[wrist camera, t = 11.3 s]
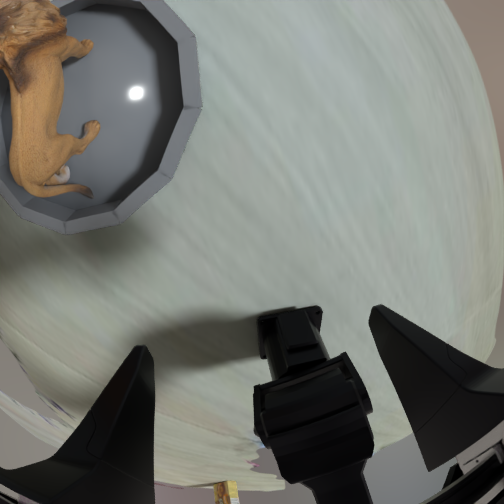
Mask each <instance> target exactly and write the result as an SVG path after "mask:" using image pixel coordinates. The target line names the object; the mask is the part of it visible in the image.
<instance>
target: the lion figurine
mask: <svg viewBox="0 0 504 504" xmlns="http://www.w3.org/2000/svg"><path fill="white" fill-rule="evenodd" d="M66 25H67V18H65V16H63V15H61V14H60V9H59V8H58V7H56V6H55V5H53V4H52V3H51V2H50V1H49V0H0V69H3V70H4V73H5V74H6V76H7V78H8V80H9V84H10V93H11V115H12V141H11V146H10V152H9V166H10V171H11V173H12V176H13V178H14V180H15V181H16V183H17V184H18V185H19V186H23V187H24V189H25V190H26V191H27V192H28V193H30V194H31V195H34V196H37V197H43V198H45V197H51V196H56V195H59V194H63V193H67V192H79V193H81V194H82V195H84V196H87V197H88V198H90V199H93V198H94V195H93V193H92V190H91V189H90V188H89V187H87V186H84V185H81V184H67V185H64V184H66V183H67V182H68V180H69V178H70V170H69V167H68V166H67V165H65V163H66V162H67V161H68V160H69V159H70V157H71V156H73V155H75V154H76V155H80V154H82V153H83V152H84V151H85V149H86V148H87V146H88V145H89V144H90V143H91V142H92V141H93V140H94V139H95V138H96V137H97V135H98V133H99V131H100V128H101V126H100V123H99V122H98V121H97V120H91V121H88V122H87V123H86V124H85V126H84V136H83V137H82V138H81V139H78V138H76V137H74V136H73V135H71V134H59V133H57V128H56V126H57V122H58V119H59V115H60V112H61V108H62V104H63V97H64V77H63V70H62V65H61V63H62V62H63V61H65V60H66V59H67V58H69V57H76V58H81V57H83V56H85V55H87V54H88V53H89V52H90V51H91V50H92V48H93V45H94V43H93V42H92V41H91V40H90V39H84V40H82V41H80V42H79V41H78V40H77V39H76V38H74V37H71V36H67V35H66V33H67V28H66ZM45 184H46V185H47V186H44V185H45Z"/></svg>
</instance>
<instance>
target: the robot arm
mask: <svg viewBox="0 0 504 504" xmlns="http://www.w3.org/2000/svg"><path fill="white" fill-rule="evenodd" d="M317 311H318V312H317ZM322 313H323V311H322V309H321V307H319V306H317V307H312V308H307V309H302V310H296V311H291V312H285V313H280V314H274V315H268V316H262V317H259V318H258V319H257V328H258V340H259V351H260V358H261V359H267V360H268V364H269V369H270V373H271V377H272V381H271V382H268V383H265V384H262V385H260V384H259V385H255V386H254V394H253V405H254V433H255V435H256V436H258V437H260V439H261V441H262V443H263V444H264V446H265V447H266V448H267V449H272V452H273V454H274V456H275V459H276V461H277V464H278V467H279V470H280V473H281V476H282V477H283V478H284V479H285V480H286V481H288V482H289V483H290V484H295V483H301V484H302V485H304V486H306V487H307V488H309V489H311V490H312V492H313V495H314V497H315V500H316V503H317V504H373V502H372V499H371V496H370V493H369V489H368V487H367V484H366V481H365V478H364V475H363V470H364V467H365V464H366V462H367V459H369V458H371V457H372V454H373V450H374V441H373V439H374V437H373V433H372V430H371V427H370V424H369V421H368V418H367V415H368V414H370V413H372V412H373V409H372V404H371V401H370V398H369V395H368V392H367V390H366V387H365V385H364V383H363V381H362V379H361V377H360V376H359V374H358V372H357V370H356V369H355V367H354V365H353V363H352V362H351V360H350V358H349V356H348V355H347V353H346V352H343V353H341V354H340V355H339V356H337V357H334V358H332V359H330V357H329V355H328V352H327V350H326V348H325V345H324V343H323V341H322V338H321V336H320V327H321V320H322ZM262 321H263V322H262ZM369 327H370V330H371V332H372V335H373V338H374V341H375V344H376V346H377V349H378V352H379V355H380V357H381V359H382V361H383V364H384V366H385V368H386V370H387V372H388V374H389V376H390V379H391V381H392V383H393V385H394V387H395V390H396V392H397V394H398V397H399V399H400V401H401V403H402V406H403V408H404V410H405V413H406V415H407V418H408V420H409V422H410V425H411V427H412V430H413V432H414V435H415V437H416V440H417V443H418V446H419V448H420V451H421V454H422V456H423V459H424V462H425V465H426V467H427V470H428V472H430V471H432V470H434V469H435V468H437V467H439V466H440V465H442V464H444V463H446V462H447V461H449V460H450V459H452V458H453V457H456V459H457V463H456V464H455V465H453V466H452V467H450V470H449V472H448V475H447V478H446V481H445V483H444V486H443V488H442V490H441V491H440V492H438V493H437V494H435V495H434V496H432V497H430V498H429V499H427V500H425V501H423V502H422V503H420V504H504V368H503V369H499V368H493V367H490V366H488V365H486V364H484V363H482V362H480V361H478V360H476V359H474V358H472V357H470V356H468V355H466V354H464V353H463V352H461V351H459V350H457V349H456V348H454V347H452V346H451V345H449V344H447V343H446V342H444V341H442V340H441V339H439V338H437V337H436V336H434V335H432V334H431V333H429V332H428V331H426V330H424V329H423V328H421V327H419V326H418V325H416V324H414V323H413V322H411V321H409V320H408V319H406V318H404V317H403V316H401V315H399V314H397V313H396V312H394V311H392V310H391V309H389V308H387V307H386V306H384V305H381V304H380V305H376V306H373V307H372V310H371V313H370V317H369ZM154 416H155V380H154V361H153V357H152V356H151V354H150V352H149V350H148V348H147V346H146V345H136V346H135V347H134V348H133V349H132V351H131V352H130V353H129V355H128V356H127V358H126V359H125V360H124V362H123V363H122V364H121V366H120V367H119V369H118V370H117V371H116V373H115V374H114V376H113V377H112V378H111V380H110V381H109V383H108V384H107V386H106V387H105V388H104V390H103V391H102V393H101V394H100V396H99V397H98V398H97V400H96V401H95V403H94V404H93V406H92V407H91V410H89V411H88V413H87V414H86V416H85V417H84V419H83V420H82V422H81V423H80V424H79V426H78V427H77V428H76V429H75V431H74V432H73V433H72V434H71V436H70V437H69V438H68V439H67V440H66V442H65V443H64V444H63V445H62V446H61V448H60V449H59V450H58V451H57V452H56V453H55V454H54V455H53V456H52V457H50V458H48V459H46V460H43V461H40V462H37V463H34V464H31V465H27V466H24V467H20V468H17V469H12V470H6V469H3V468H1V467H0V484H2V485H4V486H5V487H7V488H9V489H11V490H13V491H14V492H16V493H18V499H15V498H13V497H11V496H9V495H7V494H5V493H3V492H1V491H0V504H155V492H154Z"/></svg>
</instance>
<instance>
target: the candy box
mask: <svg viewBox="0 0 504 504" xmlns="http://www.w3.org/2000/svg"><path fill="white" fill-rule="evenodd" d="M213 486H214V494H215V503H216V504H239V498H238V492H237V485H236V481H225V482H221V483H217V484H213Z"/></svg>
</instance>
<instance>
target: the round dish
mask: <svg viewBox="0 0 504 504" xmlns="http://www.w3.org/2000/svg"><path fill="white" fill-rule="evenodd" d="M51 3H52V4H53V5H55V6H56V7H58V8H59V9H60V14H61V15H63V16H65V18H67V25H66V28H67V33H66V35H67V36H71V37H74V38H76V39H77V40H78V41H79V42H80V41H82V40H84V39H90V40H91V41H92V42H93V43H94V45H93V48H92V50H91V51H90V52H89V53H88V54H87V55H85V56H83V57H81V58H76V57H69V58H67V59H66V60H65V61H63V62H62V63H61V65H62V70H63V77H64V97H63V104H62V108H61V112H60V115H59V119H58V122H57V126H56V128H57V133H59V134H71V135H73V136H74V137H76V138H78V139H81V138H82V137H83V136H84V126H85V124H86V123H87V122H88V121H91V120H97V121H98V122H99V123H100V126H101V128H100V131H99V133H98V135H97V137H96V138H95V139H94V140H93V141H92V142H91V143H90V144H89V145H88V146H87V148H86V149H85V151H84V152H83V153H82V154H80V155H76V154H75V155H73V156H71V157H70V159H69V160H68V161H67V162H66V163H65V165H67V166H68V167H69V170H70V178H69V180H68V182H67V183H66V184H64V185H67V184H81V185H84V186H87V187H89V188H90V189H91V190H92V193H93V195H94V198H93V199H90V198H88V197H87V196H84V195H82V194H81V193H79V192H67V193H63V194H59V195H56V196H51V197H45V198H43V197H37V196H34V195H31V194H30V193H28V192H27V191H26V190H25V189H24V187H23V186H19V185H18V184H17V183H16V181H15V180H14V178H13V176H12V173H11V171H10V166H9V152H10V146H11V141H12V115H11V93H10V84H9V80H8V78H7V76H6V74H5V73H4V70H3V69H0V194H1V195H2V197H3V198H4V199H5V200H6V202H7V203H8V204H9V205H10V207H11V208H12V209H13V210H14V211H15V213H16V214H17V215H18V216H20V218H22V219H25V220H27V221H30V222H32V223H35V224H38V225H40V226H43V227H45V228H48V229H51V230H53V231H56V232H59V233H61V234H64V235H66V234H67V235H70V234H75V233H80V232H84V231H89V230H94V229H99V228H104V227H109V226H114V225H119V224H121V223H123V222H124V221H125V220H126V219H127V218H128V217H129V216H130V215H132V214H133V213H134V212H135V211H136V210H137V209H138V208H139V207H140V206H142V205H143V204H144V203H145V202H146V201H147V200H148V199H150V198H151V197H152V196H153V195H154V194H155V193H157V192H158V191H159V190H160V189H161V188H163V187H164V186H165V185H166V184H167V183H169V182H170V181H171V180H172V179H173V176H174V174H175V172H176V169H177V167H178V164H179V162H180V159H181V157H182V154H183V152H184V150H185V147H186V145H187V142H188V140H189V138H190V136H191V133H192V131H193V129H194V126H195V124H196V122H197V120H198V118H199V115H200V113H201V111H202V109H201V107H203V104H202V94H201V84H200V73H199V62H198V50H197V41H196V37H195V35H194V33H193V32H192V31H191V30H190V29H189V28H188V27H187V25H186V24H185V23H184V22H183V21H182V20H181V19H180V18H179V17H178V15H177V14H176V13H175V12H174V11H173V10H172V9H171V8H170V7H169V6H168V5H167V4H166V3H165V2H164V1H163V0H53V1H51ZM44 186H47V185H46V184H45V185H44Z"/></svg>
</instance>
